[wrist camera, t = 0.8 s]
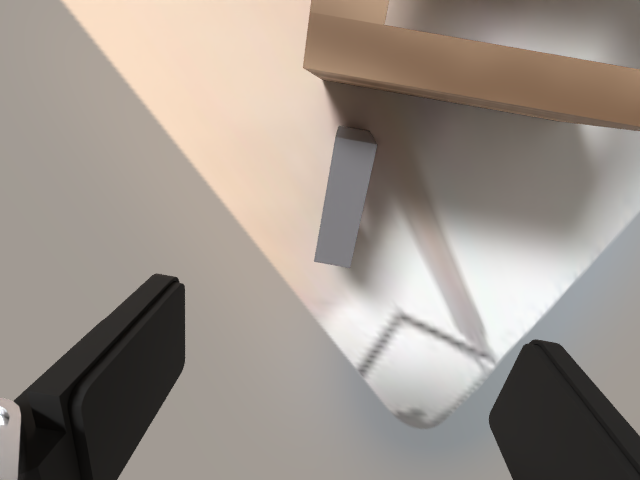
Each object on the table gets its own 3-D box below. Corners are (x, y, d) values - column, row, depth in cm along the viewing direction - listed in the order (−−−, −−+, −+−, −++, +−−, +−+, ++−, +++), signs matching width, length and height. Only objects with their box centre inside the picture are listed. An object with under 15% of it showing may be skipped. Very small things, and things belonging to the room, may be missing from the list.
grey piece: (338, 125, 27) (335, 137, 19) (369, 130, 27) (377, 144, 19) (322, 220, 30) (314, 261, 22) (349, 225, 30) (350, 267, 22)
